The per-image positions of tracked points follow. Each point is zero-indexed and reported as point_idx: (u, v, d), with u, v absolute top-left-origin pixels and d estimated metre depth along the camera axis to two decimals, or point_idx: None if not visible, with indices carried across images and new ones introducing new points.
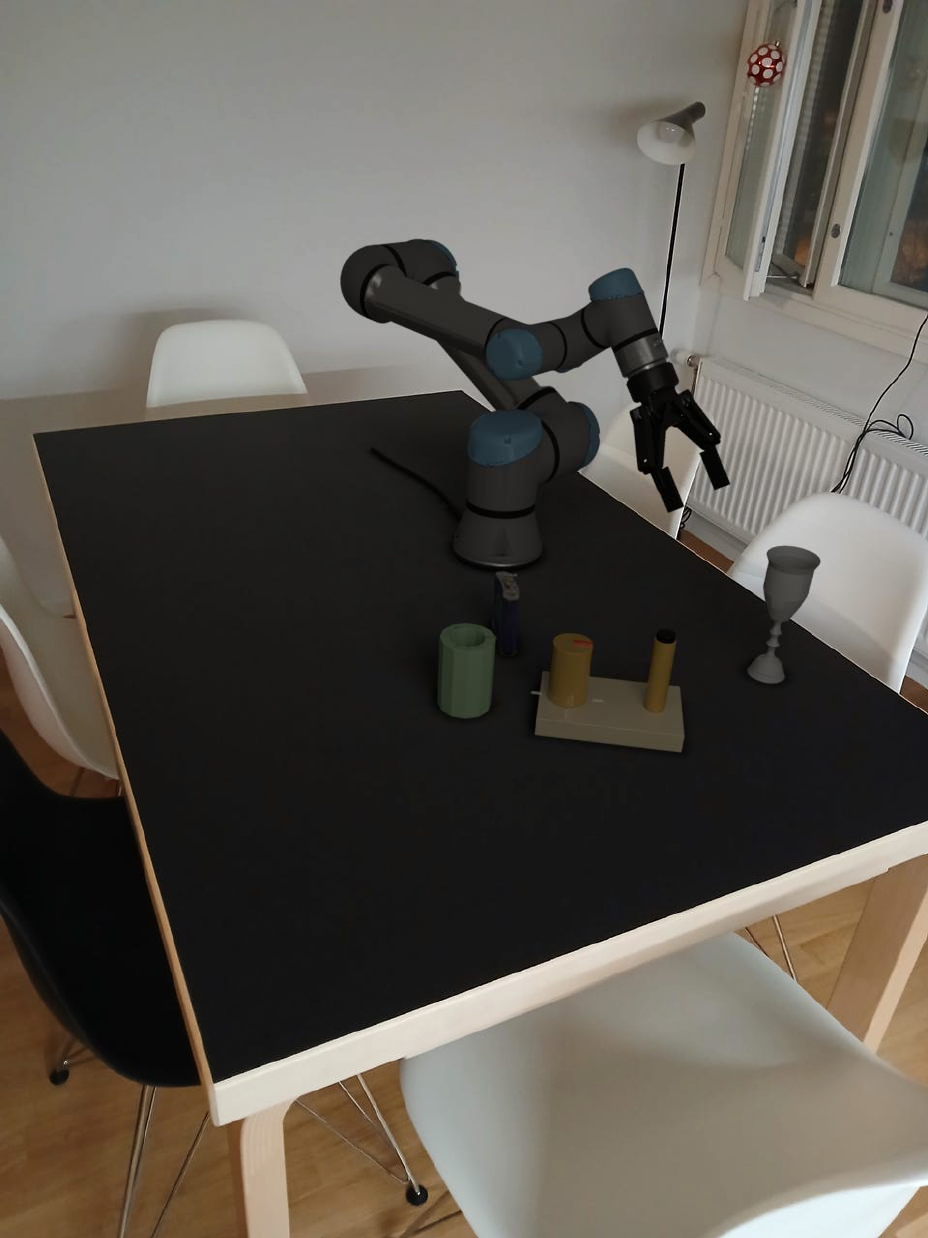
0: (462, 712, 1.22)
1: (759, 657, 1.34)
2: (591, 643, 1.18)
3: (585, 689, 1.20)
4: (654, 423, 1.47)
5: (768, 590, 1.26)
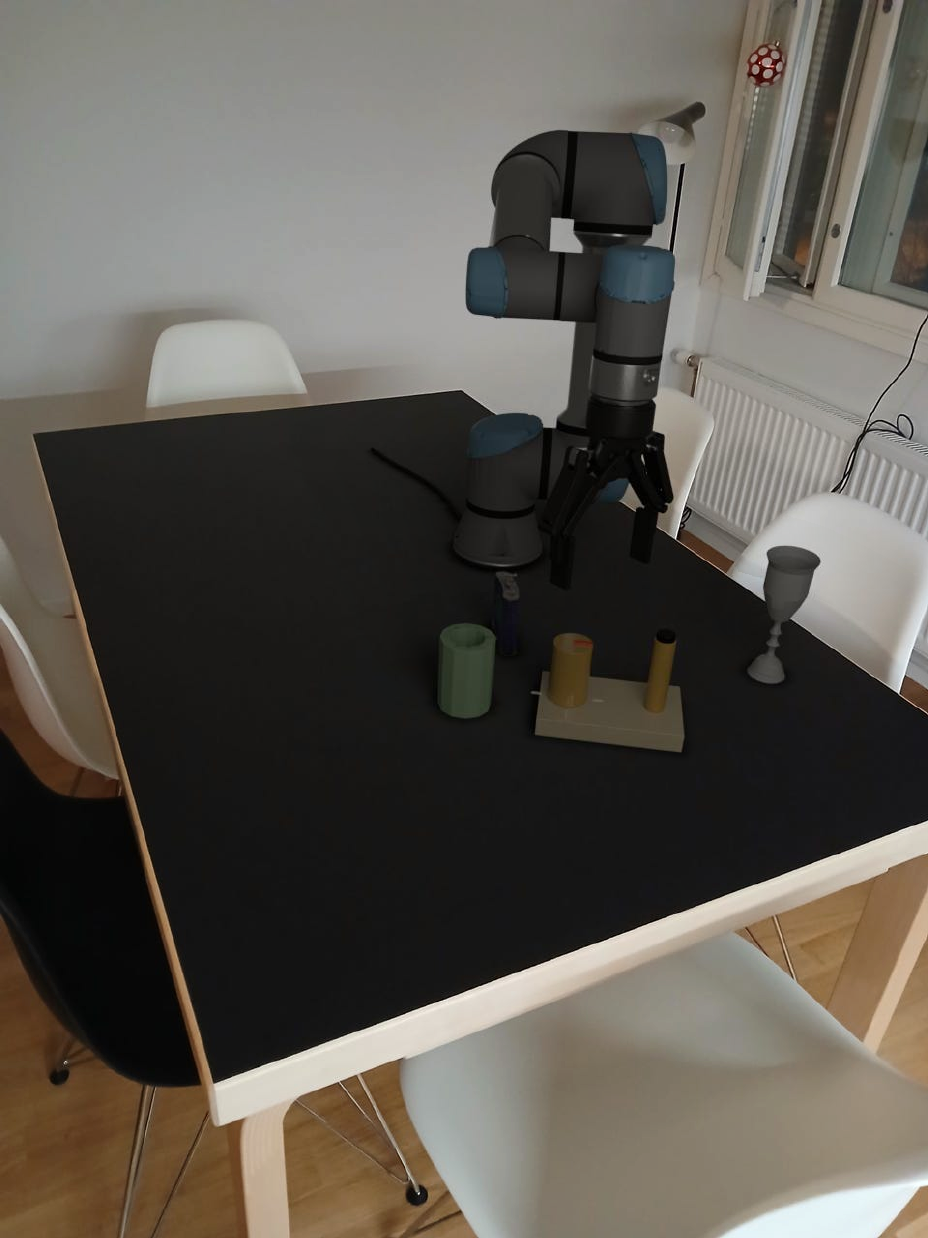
0: (462, 712, 1.22)
1: (759, 657, 1.34)
2: (591, 643, 1.18)
3: (585, 689, 1.20)
4: (592, 469, 1.08)
5: (768, 590, 1.26)
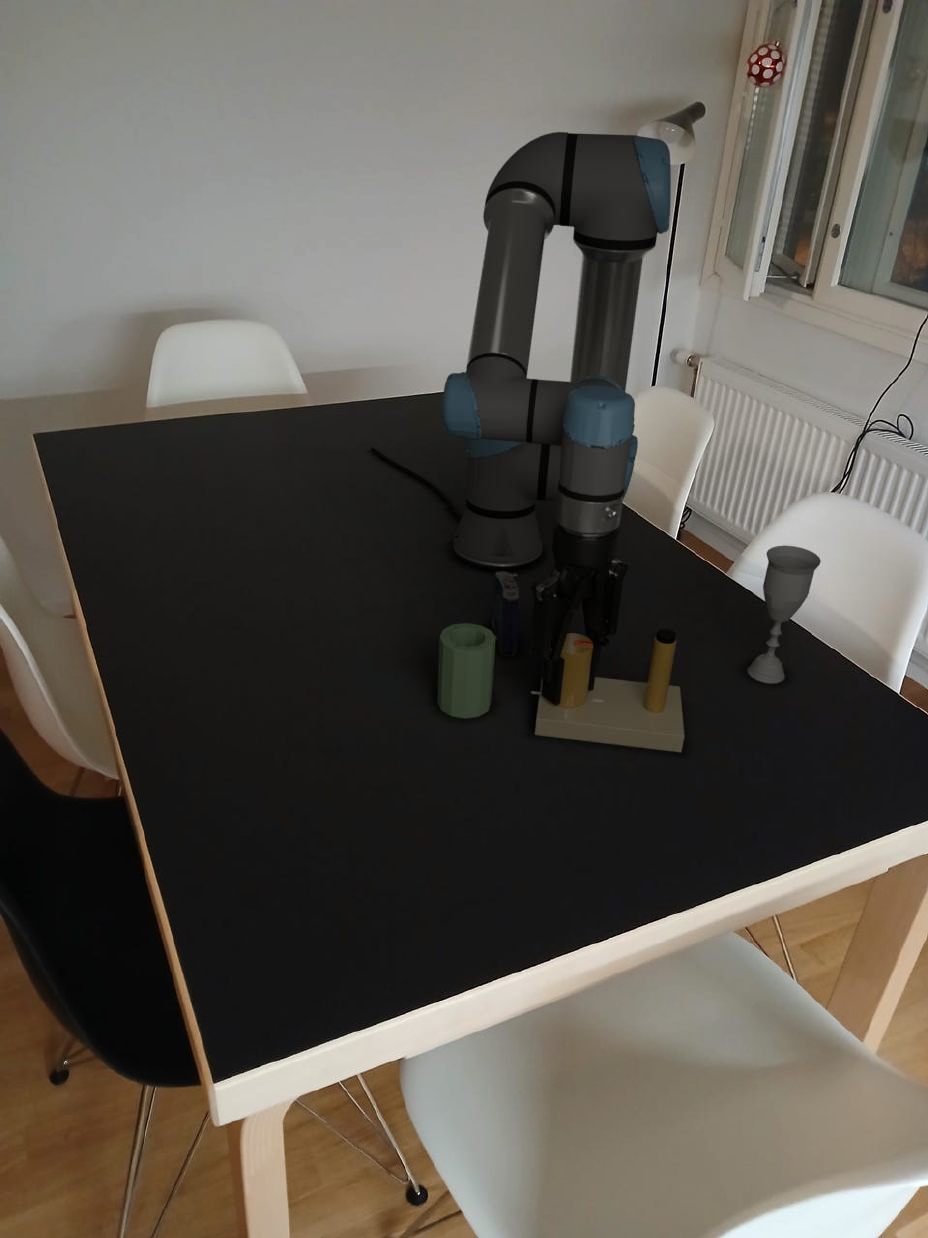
0: (462, 712, 1.22)
1: (759, 657, 1.34)
2: (591, 643, 1.18)
3: (585, 689, 1.20)
4: None
5: (768, 590, 1.26)
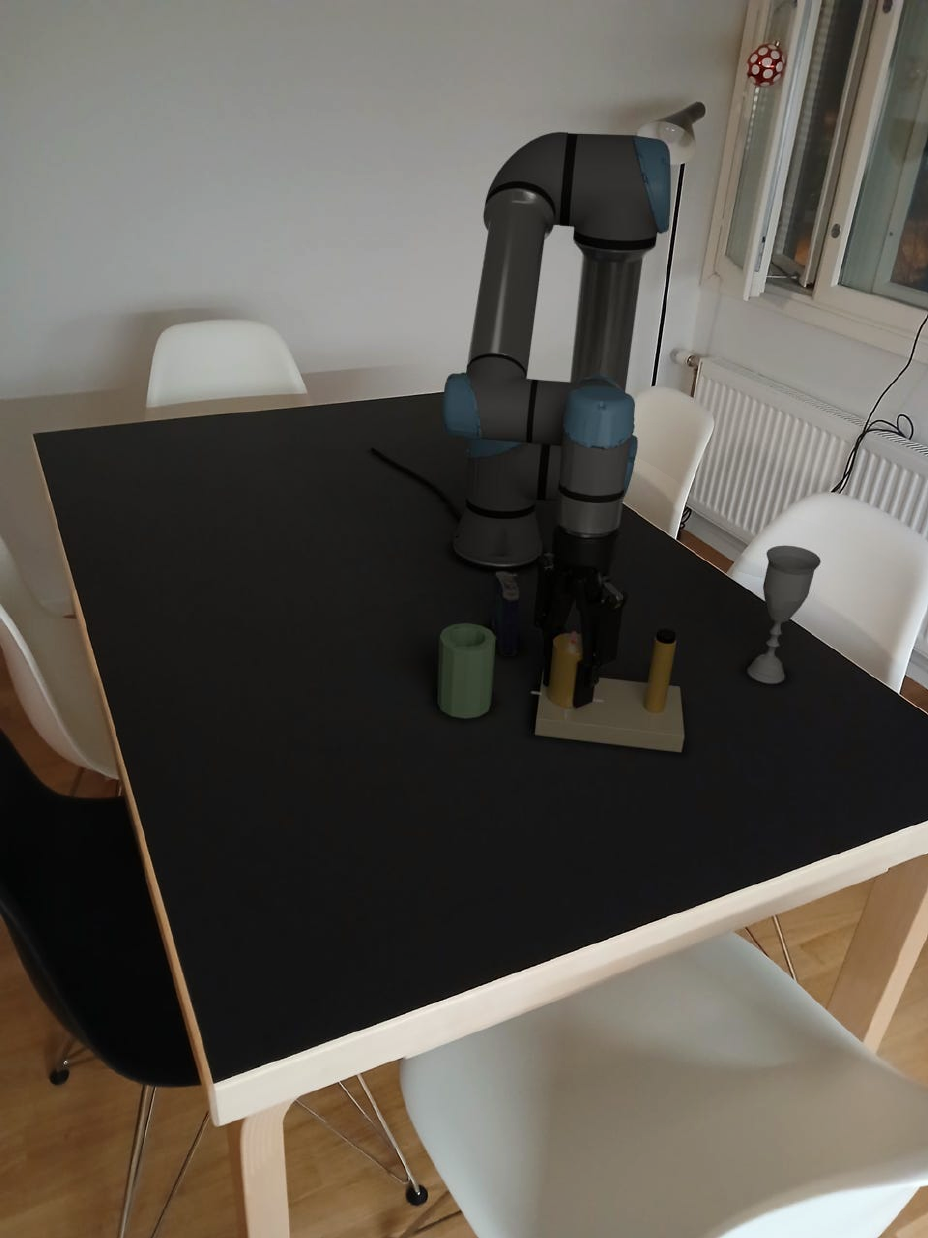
0: (462, 712, 1.22)
1: (759, 657, 1.34)
2: (575, 632, 1.21)
3: None
4: None
5: (768, 590, 1.26)
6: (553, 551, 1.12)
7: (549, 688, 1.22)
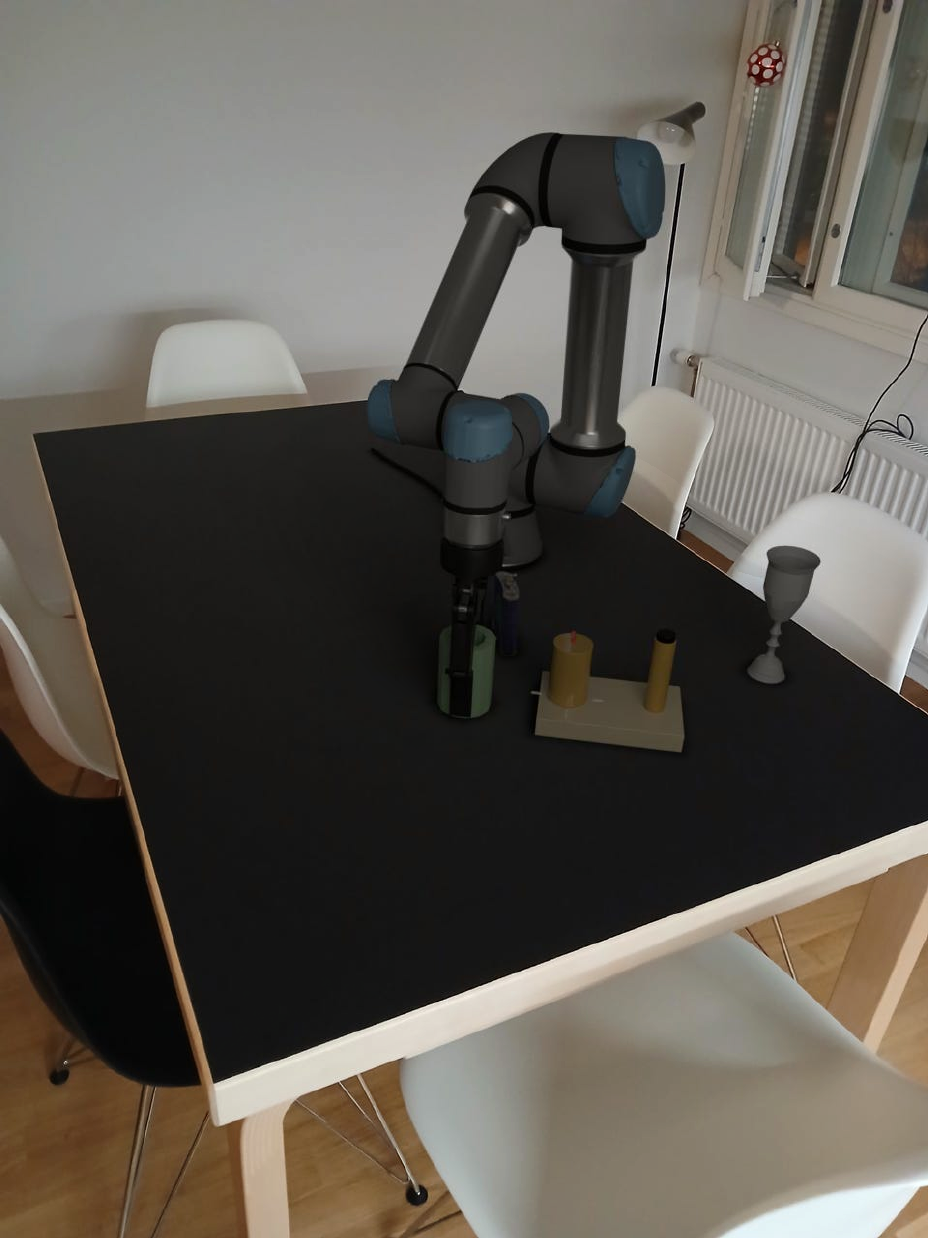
0: None
1: (759, 657, 1.34)
2: (575, 632, 1.21)
3: None
4: None
5: (768, 590, 1.26)
6: None
7: (549, 688, 1.22)
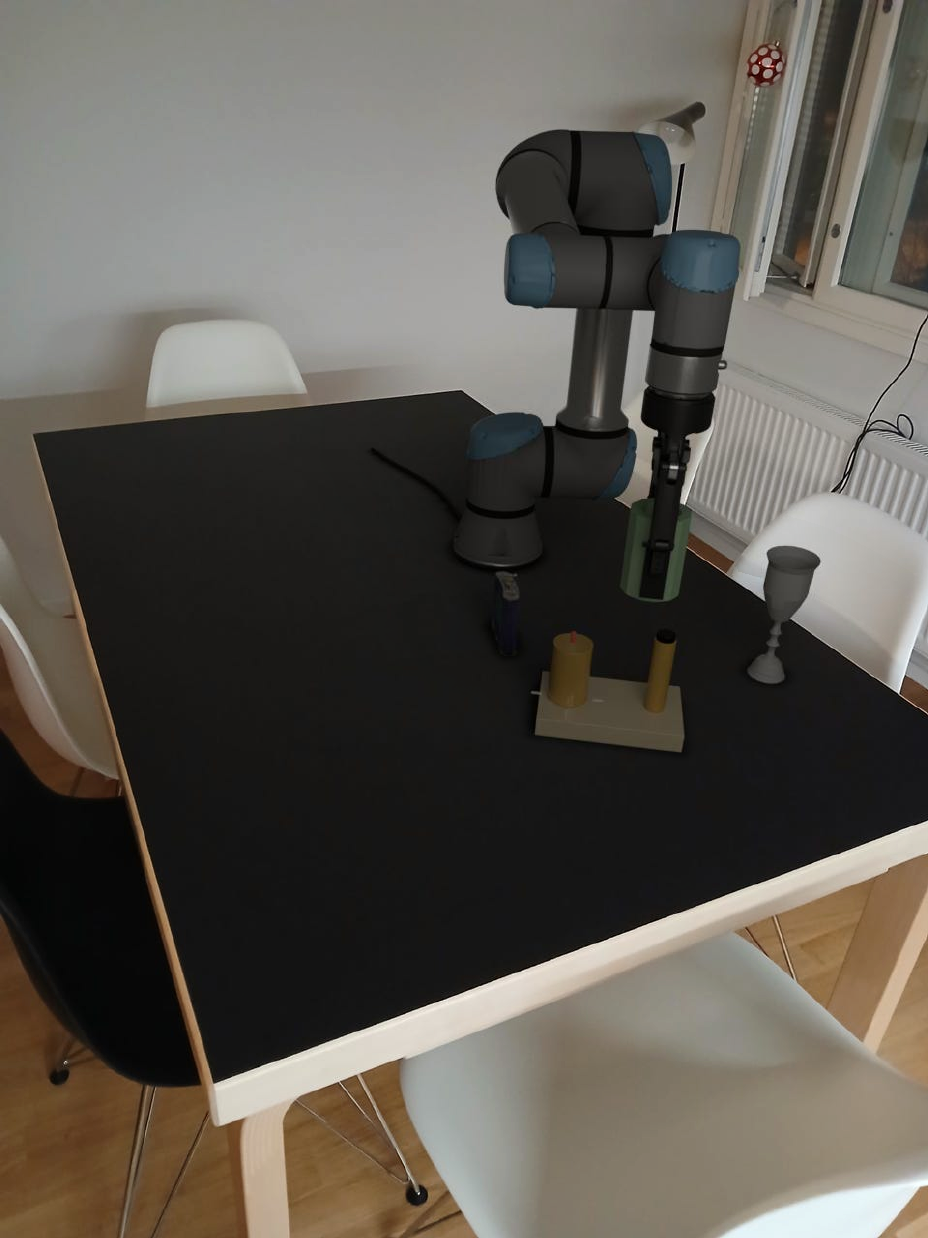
0: None
1: (759, 657, 1.34)
2: (575, 632, 1.21)
3: None
4: None
5: (768, 590, 1.26)
6: None
7: (549, 688, 1.22)
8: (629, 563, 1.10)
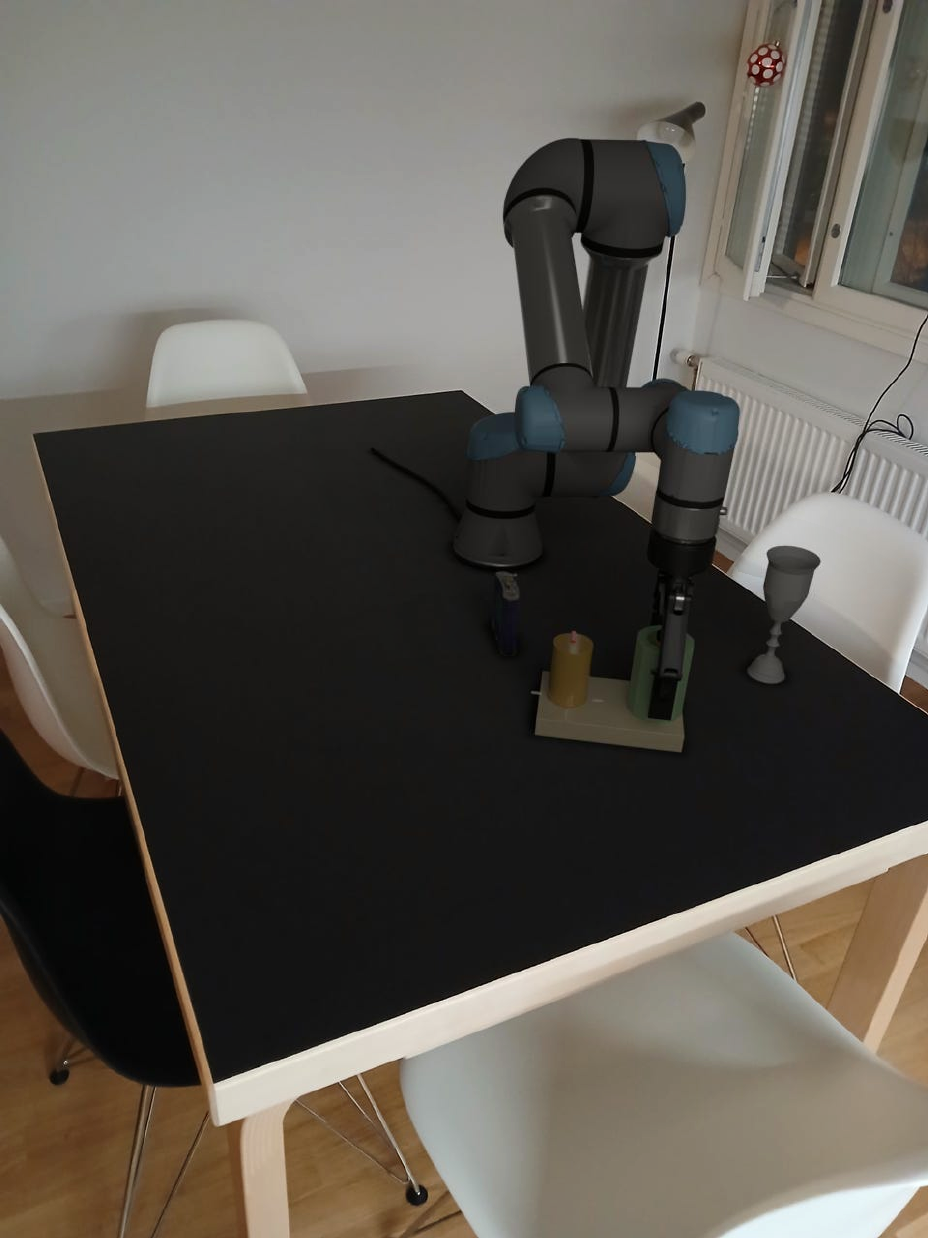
0: None
1: (759, 657, 1.34)
2: (575, 632, 1.21)
3: None
4: None
5: (768, 590, 1.26)
6: None
7: (549, 688, 1.22)
8: (635, 687, 1.18)
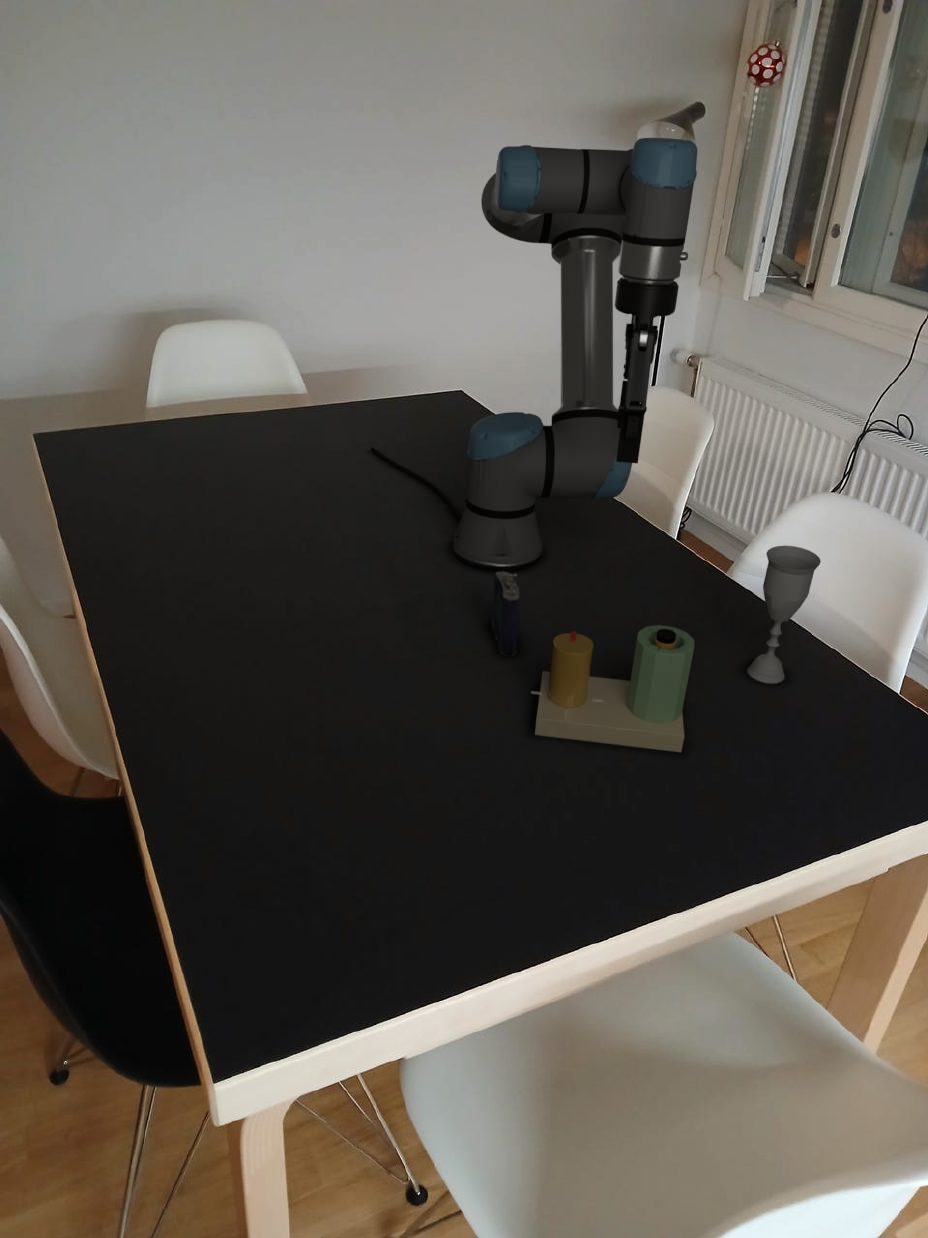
0: (658, 717, 1.18)
1: (759, 657, 1.34)
2: (575, 632, 1.21)
3: None
4: None
5: (768, 590, 1.26)
6: None
7: (549, 688, 1.22)
8: (635, 687, 1.18)
